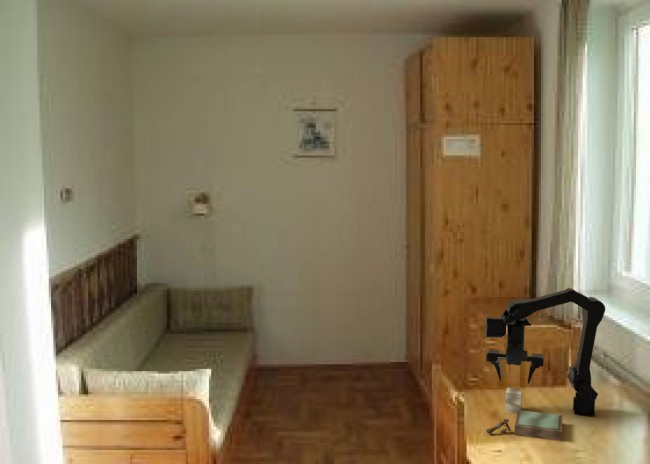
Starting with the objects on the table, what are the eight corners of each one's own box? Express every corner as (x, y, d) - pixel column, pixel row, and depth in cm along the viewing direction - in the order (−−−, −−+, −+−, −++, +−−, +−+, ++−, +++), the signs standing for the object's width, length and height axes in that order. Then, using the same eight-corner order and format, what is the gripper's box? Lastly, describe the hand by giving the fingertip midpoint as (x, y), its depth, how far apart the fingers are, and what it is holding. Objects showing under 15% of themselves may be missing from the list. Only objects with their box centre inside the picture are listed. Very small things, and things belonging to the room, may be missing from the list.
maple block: (521, 408, 237) (522, 389, 236) (520, 414, 232) (521, 394, 232) (506, 407, 239) (507, 387, 238) (505, 412, 234) (505, 392, 233)
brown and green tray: (562, 424, 224) (562, 414, 223) (561, 441, 211) (561, 430, 210) (517, 418, 228) (518, 409, 228) (514, 434, 215) (514, 424, 215)
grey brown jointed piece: (514, 430, 217) (509, 418, 216) (493, 442, 216) (488, 430, 215) (511, 427, 219) (506, 416, 218) (490, 440, 217) (485, 428, 216)
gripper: (484, 341, 228) (483, 386, 230) (543, 346, 222) (542, 393, 224) (488, 333, 239) (487, 376, 240) (544, 337, 232) (543, 382, 234)
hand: (514, 382), depth 234 cm, fingers open, 9 cm apart
